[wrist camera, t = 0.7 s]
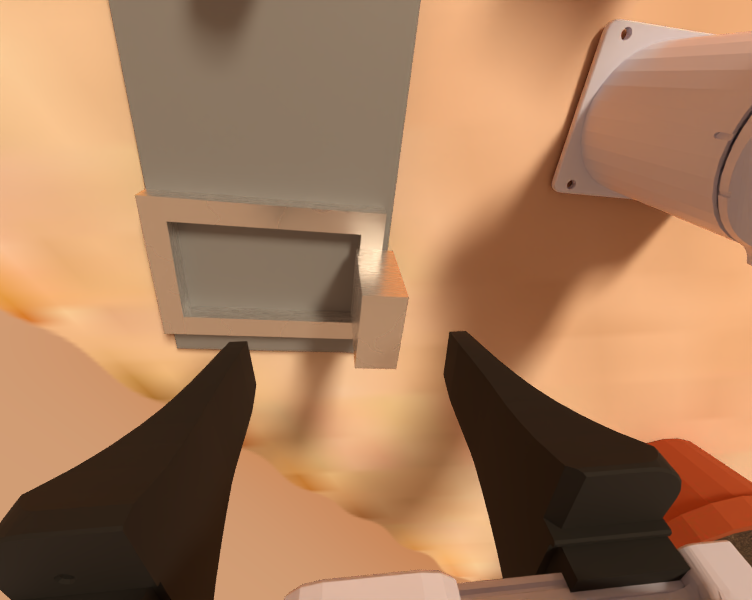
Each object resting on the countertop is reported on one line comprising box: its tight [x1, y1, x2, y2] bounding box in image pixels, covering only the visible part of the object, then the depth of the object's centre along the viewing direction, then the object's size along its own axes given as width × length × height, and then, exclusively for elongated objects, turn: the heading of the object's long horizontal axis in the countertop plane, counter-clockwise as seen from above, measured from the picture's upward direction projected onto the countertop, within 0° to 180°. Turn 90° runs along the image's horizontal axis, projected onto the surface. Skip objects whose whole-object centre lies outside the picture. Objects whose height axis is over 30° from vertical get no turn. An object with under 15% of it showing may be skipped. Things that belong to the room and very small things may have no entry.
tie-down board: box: [109, 0, 421, 353], centre depth 18 cm, size 12×27×1 cm, turn 174°
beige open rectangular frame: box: [135, 189, 409, 369], centre depth 19 cm, size 13×8×6 cm, turn 84°
